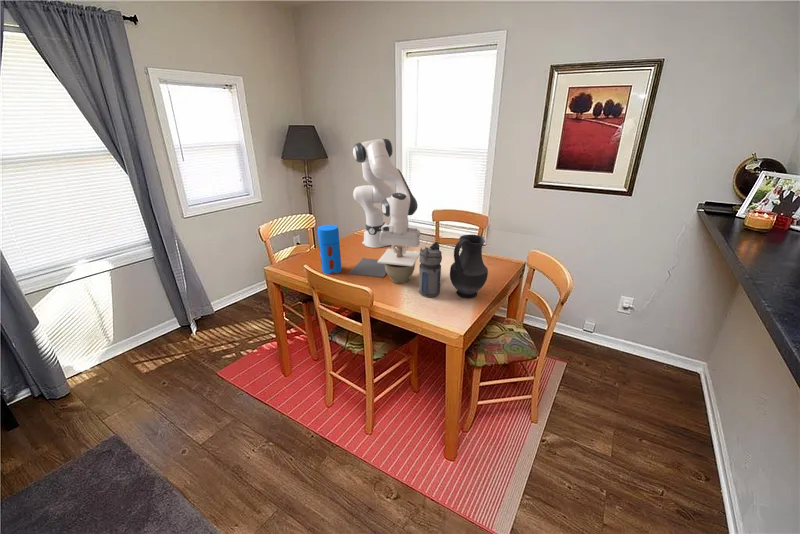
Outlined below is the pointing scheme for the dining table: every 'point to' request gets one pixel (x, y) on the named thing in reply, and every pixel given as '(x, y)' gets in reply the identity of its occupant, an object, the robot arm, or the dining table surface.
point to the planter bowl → (399, 272)
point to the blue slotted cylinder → (329, 248)
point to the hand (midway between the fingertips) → (399, 253)
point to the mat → (369, 268)
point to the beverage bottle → (430, 271)
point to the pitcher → (468, 266)
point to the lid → (399, 257)
